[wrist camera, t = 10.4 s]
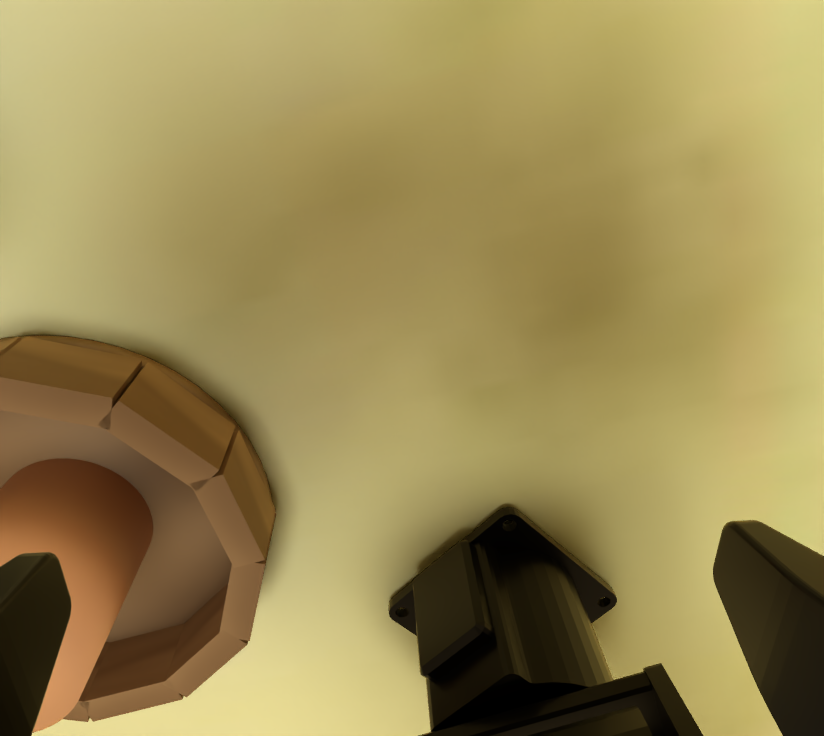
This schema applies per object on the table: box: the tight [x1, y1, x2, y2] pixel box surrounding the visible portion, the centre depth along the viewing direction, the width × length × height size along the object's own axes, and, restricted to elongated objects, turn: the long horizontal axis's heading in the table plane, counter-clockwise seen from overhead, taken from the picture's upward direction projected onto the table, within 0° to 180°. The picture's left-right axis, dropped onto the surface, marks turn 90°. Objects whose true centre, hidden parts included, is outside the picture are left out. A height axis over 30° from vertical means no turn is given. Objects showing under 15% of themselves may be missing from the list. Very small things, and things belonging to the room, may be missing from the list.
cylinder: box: [0, 458, 153, 733], centre depth 19 cm, size 5×5×6 cm
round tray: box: [0, 335, 276, 722], centre depth 21 cm, size 13×13×3 cm
